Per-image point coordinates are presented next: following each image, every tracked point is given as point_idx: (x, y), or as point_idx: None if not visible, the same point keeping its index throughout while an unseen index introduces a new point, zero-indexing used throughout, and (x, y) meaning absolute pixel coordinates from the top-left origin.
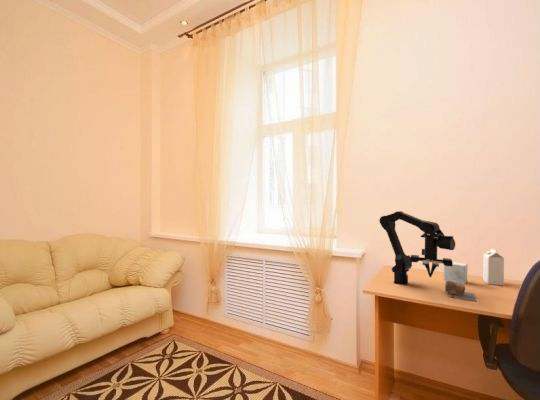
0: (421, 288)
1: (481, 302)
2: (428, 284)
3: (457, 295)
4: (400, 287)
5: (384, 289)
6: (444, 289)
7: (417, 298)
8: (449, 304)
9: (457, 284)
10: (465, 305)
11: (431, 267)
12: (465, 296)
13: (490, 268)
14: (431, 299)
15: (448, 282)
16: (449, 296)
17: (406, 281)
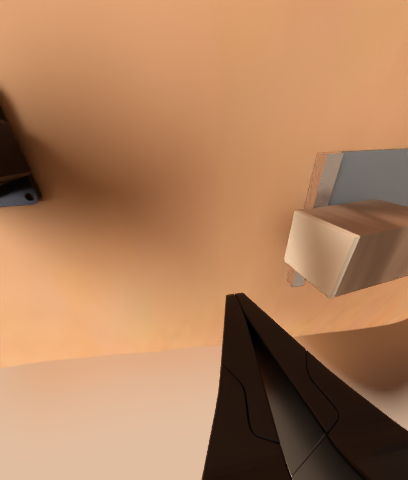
0: (159, 217)
1: None
2: (189, 51)
3: None
4: (47, 268)
5: (7, 336)
6: (291, 258)
7: (171, 348)
8: None
9: (401, 255)
10: (319, 322)
11: (309, 414)
12: None
13: None
14: (218, 332)
15: (351, 276)
16: (291, 282)
17: (12, 176)
